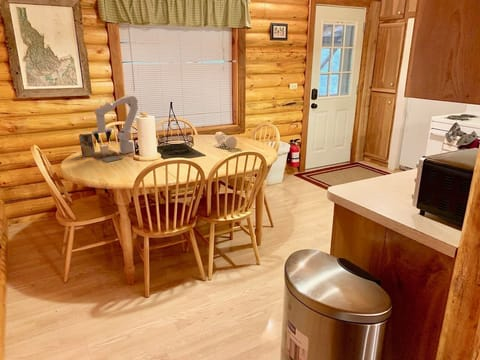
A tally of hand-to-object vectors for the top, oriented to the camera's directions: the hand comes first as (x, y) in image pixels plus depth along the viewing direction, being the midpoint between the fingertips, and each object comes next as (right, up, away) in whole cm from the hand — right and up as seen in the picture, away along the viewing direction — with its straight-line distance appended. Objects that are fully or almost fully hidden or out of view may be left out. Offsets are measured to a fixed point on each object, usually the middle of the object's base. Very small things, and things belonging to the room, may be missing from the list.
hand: (103, 142), depth 276 cm
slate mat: (+8, -13, -6) cm, 17 cm away
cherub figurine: (+89, -1, +26) cm, 93 cm away
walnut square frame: (0, -10, +4) cm, 11 cm away
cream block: (0, -10, +4) cm, 11 cm away
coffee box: (-13, -9, +6) cm, 17 cm away
